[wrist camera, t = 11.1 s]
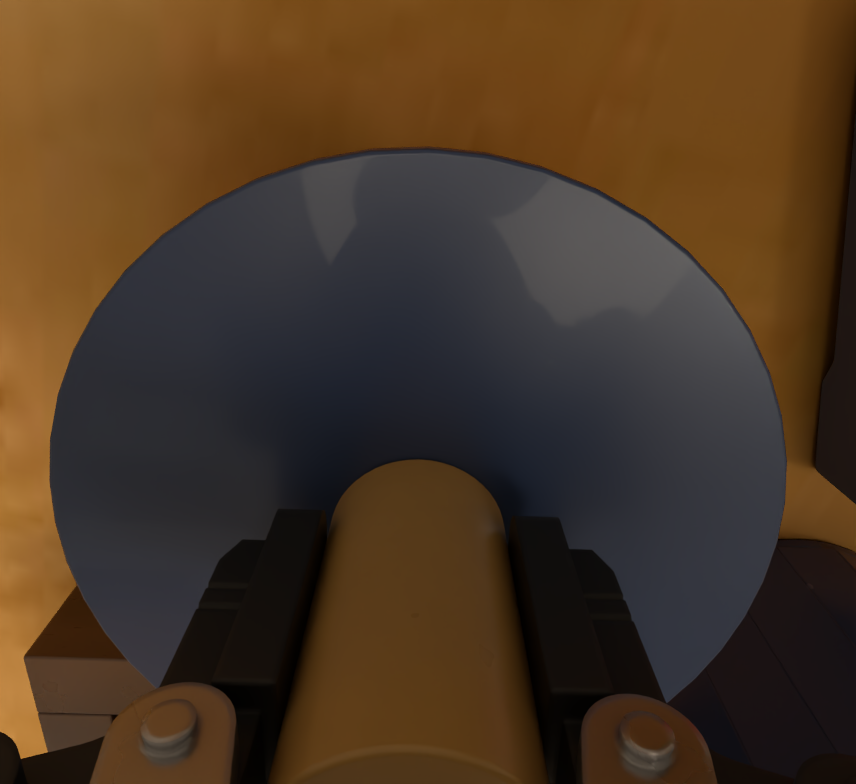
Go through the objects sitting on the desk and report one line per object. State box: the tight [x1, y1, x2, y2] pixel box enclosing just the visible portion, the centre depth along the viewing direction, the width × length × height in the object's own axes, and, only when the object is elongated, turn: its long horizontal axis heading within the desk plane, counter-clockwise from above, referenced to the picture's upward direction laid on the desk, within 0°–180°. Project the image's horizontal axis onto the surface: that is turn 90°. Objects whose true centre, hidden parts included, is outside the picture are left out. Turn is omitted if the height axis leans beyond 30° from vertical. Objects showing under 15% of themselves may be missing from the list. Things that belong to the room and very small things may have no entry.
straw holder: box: [24, 585, 156, 752], centre depth 25 cm, size 7×16×6 cm, turn 88°
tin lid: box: [50, 146, 787, 784], centre depth 10 cm, size 13×13×7 cm
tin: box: [667, 539, 856, 779], centre depth 24 cm, size 11×11×10 cm
